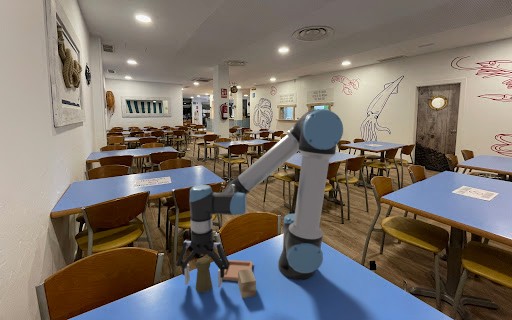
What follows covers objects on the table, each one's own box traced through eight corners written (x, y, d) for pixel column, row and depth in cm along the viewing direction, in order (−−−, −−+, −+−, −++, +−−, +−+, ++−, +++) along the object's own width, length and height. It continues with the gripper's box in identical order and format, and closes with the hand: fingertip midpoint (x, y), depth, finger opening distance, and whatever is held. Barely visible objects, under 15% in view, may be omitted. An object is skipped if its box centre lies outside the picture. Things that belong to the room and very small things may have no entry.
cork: (208, 293, 86) (207, 265, 84) (192, 291, 87) (191, 263, 85) (214, 282, 91) (213, 256, 89) (199, 280, 93) (198, 254, 91)
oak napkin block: (251, 282, 92) (251, 268, 91) (255, 295, 85) (255, 280, 84) (238, 284, 90) (238, 270, 89) (241, 298, 84) (241, 283, 83)
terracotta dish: (252, 264, 103) (252, 261, 103) (249, 281, 92) (249, 278, 92) (227, 262, 104) (227, 259, 104) (221, 279, 93) (221, 276, 93)
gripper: (237, 225, 88) (237, 279, 91) (173, 222, 90) (176, 274, 94) (233, 235, 80) (233, 293, 84) (164, 232, 82) (168, 288, 86)
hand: (203, 283), depth 89 cm, fingers open, 12 cm apart
